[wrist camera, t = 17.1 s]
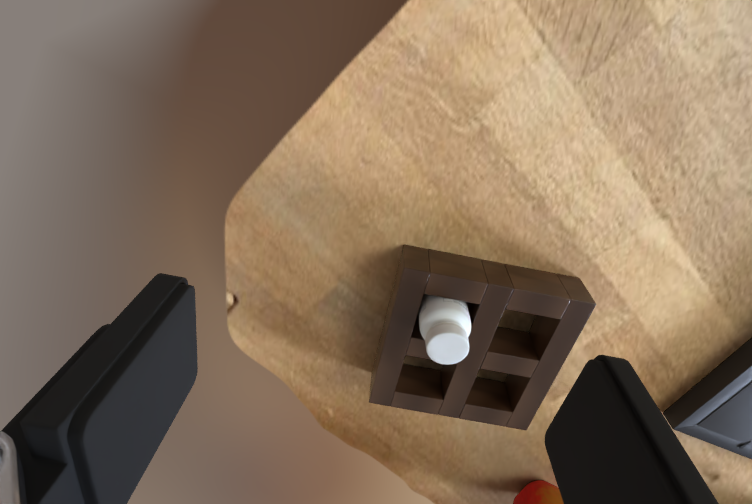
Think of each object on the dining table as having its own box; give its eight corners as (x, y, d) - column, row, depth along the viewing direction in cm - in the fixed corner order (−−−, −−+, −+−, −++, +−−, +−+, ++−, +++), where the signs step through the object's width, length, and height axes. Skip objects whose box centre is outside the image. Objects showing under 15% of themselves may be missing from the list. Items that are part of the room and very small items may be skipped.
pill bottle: (429, 317, 42) (433, 376, 36) (410, 284, 41) (411, 339, 34) (471, 302, 41) (484, 359, 34) (453, 267, 39) (463, 320, 33)
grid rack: (371, 373, 47) (368, 402, 43) (403, 244, 38) (403, 267, 35) (517, 399, 47) (526, 430, 44) (579, 277, 39) (596, 304, 36)
